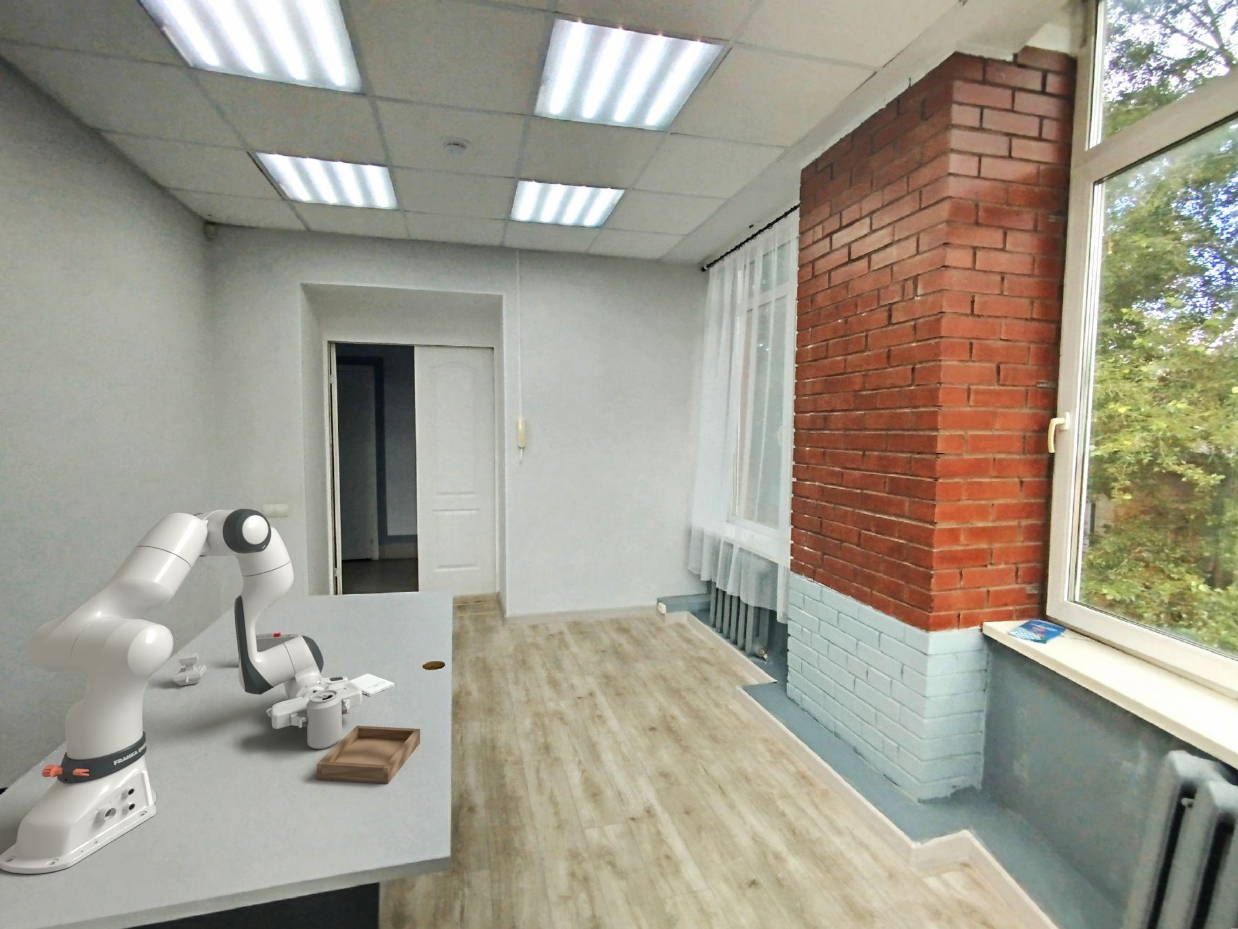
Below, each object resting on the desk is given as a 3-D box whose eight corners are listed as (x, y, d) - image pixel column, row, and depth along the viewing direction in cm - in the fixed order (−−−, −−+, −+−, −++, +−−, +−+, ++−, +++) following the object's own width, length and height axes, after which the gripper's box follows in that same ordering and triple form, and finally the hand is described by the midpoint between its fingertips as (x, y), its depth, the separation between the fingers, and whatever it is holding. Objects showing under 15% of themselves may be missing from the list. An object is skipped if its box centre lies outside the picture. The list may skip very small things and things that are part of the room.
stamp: (200, 687, 165) (199, 659, 165) (172, 691, 163) (171, 662, 162) (208, 674, 174) (207, 648, 173) (181, 678, 171) (180, 651, 170)
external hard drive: (368, 678, 174) (395, 687, 167) (344, 688, 167) (370, 698, 160) (368, 673, 174) (394, 682, 167) (343, 682, 167) (370, 693, 160)
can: (327, 753, 132) (326, 703, 132) (300, 749, 134) (298, 700, 133) (349, 736, 140) (348, 689, 139) (322, 732, 141) (321, 686, 140)
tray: (388, 783, 121) (387, 768, 121) (317, 779, 122) (316, 764, 122) (420, 742, 137) (420, 729, 137) (357, 739, 138) (356, 725, 138)
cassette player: (298, 660, 185) (297, 630, 185) (295, 663, 183) (294, 633, 182) (244, 664, 181) (243, 634, 181) (241, 668, 179) (240, 637, 178)
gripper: (264, 697, 139) (274, 718, 129) (352, 674, 153) (368, 692, 142) (265, 721, 140) (275, 745, 129) (353, 697, 153) (368, 717, 142)
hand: (325, 717), depth 136 cm, fingers open, 8 cm apart
